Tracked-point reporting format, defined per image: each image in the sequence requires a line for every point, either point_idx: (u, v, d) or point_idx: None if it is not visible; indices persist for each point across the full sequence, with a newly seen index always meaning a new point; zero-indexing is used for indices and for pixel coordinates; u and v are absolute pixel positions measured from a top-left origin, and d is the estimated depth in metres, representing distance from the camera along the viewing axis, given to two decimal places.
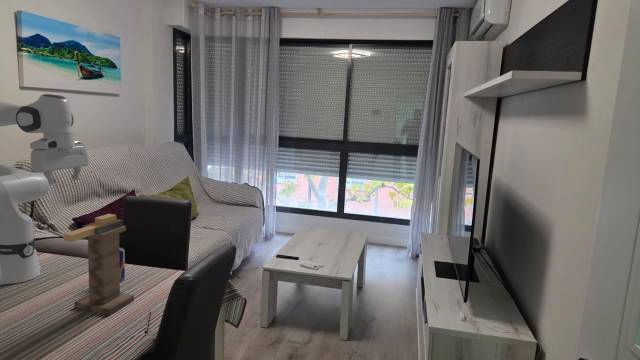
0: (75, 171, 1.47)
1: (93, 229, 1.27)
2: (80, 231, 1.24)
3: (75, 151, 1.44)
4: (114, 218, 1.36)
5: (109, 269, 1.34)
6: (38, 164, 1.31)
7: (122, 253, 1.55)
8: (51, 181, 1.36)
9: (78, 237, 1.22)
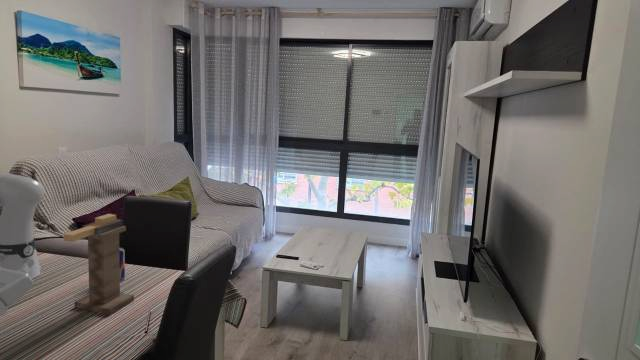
0: None
1: (93, 229, 1.27)
2: (80, 231, 1.24)
3: None
4: (114, 218, 1.36)
5: (109, 269, 1.34)
6: (21, 283, 0.97)
7: (122, 253, 1.55)
8: (29, 262, 1.04)
9: (78, 237, 1.22)
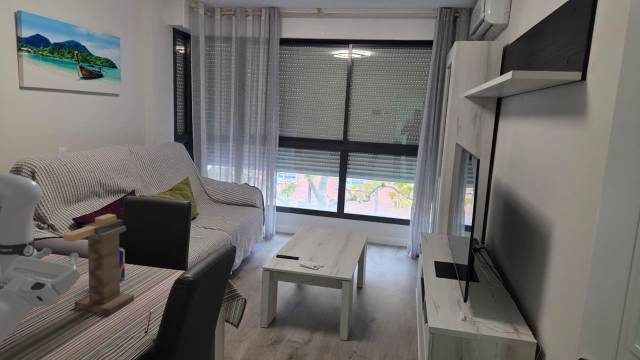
0: (39, 258, 1.17)
1: (93, 229, 1.27)
2: (80, 231, 1.24)
3: (18, 273, 1.10)
4: (114, 218, 1.36)
5: (109, 269, 1.34)
6: (71, 275, 1.09)
7: (122, 253, 1.55)
8: (74, 256, 1.16)
9: (78, 237, 1.22)
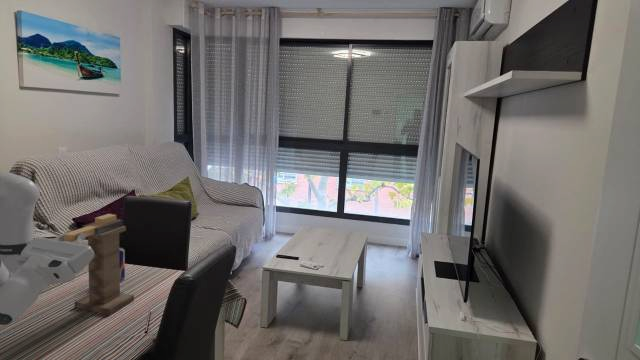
0: (61, 240, 1.22)
1: (93, 229, 1.27)
2: (80, 231, 1.24)
3: (36, 253, 1.15)
4: (114, 218, 1.36)
5: (109, 269, 1.34)
6: (85, 254, 1.15)
7: (122, 253, 1.55)
8: (81, 236, 1.21)
9: None
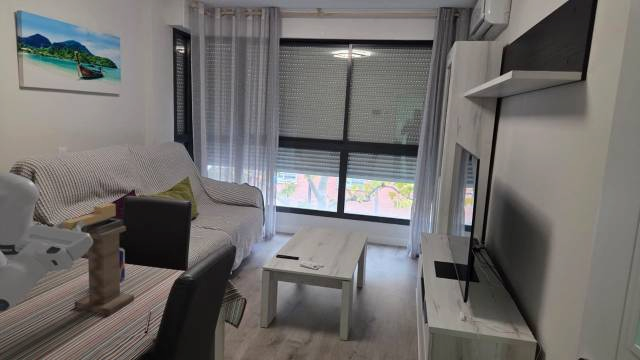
0: (60, 228, 1.21)
1: (92, 217, 1.26)
2: (79, 219, 1.23)
3: (34, 240, 1.14)
4: (113, 207, 1.35)
5: (109, 269, 1.34)
6: (84, 241, 1.13)
7: (122, 253, 1.55)
8: (80, 224, 1.20)
9: None
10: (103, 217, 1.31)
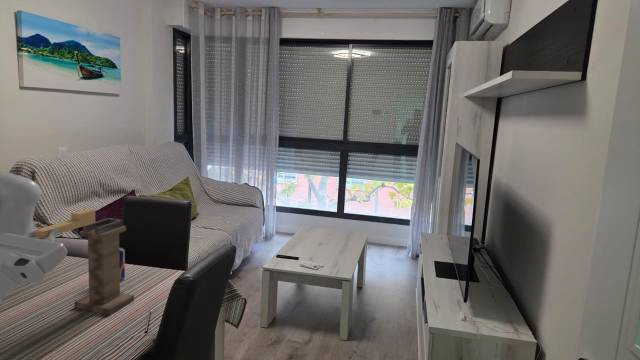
0: (32, 237, 1.12)
1: (68, 225, 1.18)
2: (53, 227, 1.14)
3: (3, 250, 1.06)
4: (93, 213, 1.26)
5: (109, 269, 1.34)
6: (57, 252, 1.05)
7: (122, 253, 1.55)
8: (54, 232, 1.12)
9: None
10: (81, 224, 1.22)
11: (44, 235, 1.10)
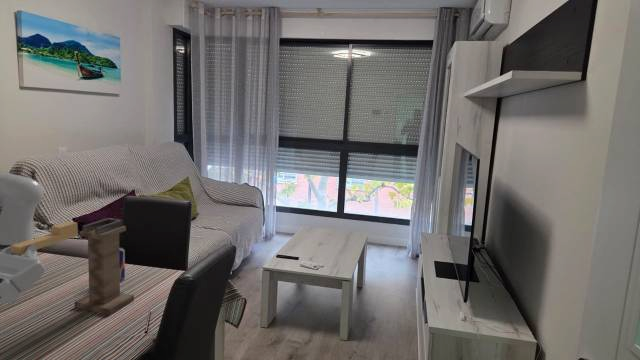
0: (9, 253, 1.06)
1: (48, 239, 1.12)
2: (31, 242, 1.08)
3: None
4: (75, 226, 1.20)
5: (109, 269, 1.34)
6: (33, 269, 0.99)
7: (122, 253, 1.55)
8: (32, 248, 1.06)
9: None
10: (61, 238, 1.16)
11: (21, 251, 1.04)
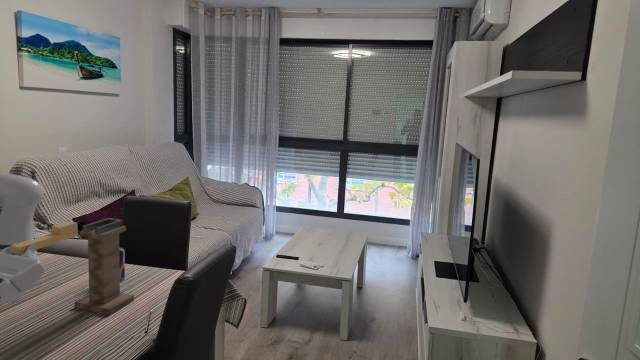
0: (9, 253, 1.06)
1: (48, 239, 1.12)
2: (31, 242, 1.08)
3: None
4: (75, 226, 1.20)
5: (109, 269, 1.34)
6: (33, 269, 0.99)
7: (122, 253, 1.55)
8: (32, 248, 1.06)
9: None
10: (61, 238, 1.16)
11: (21, 251, 1.04)
